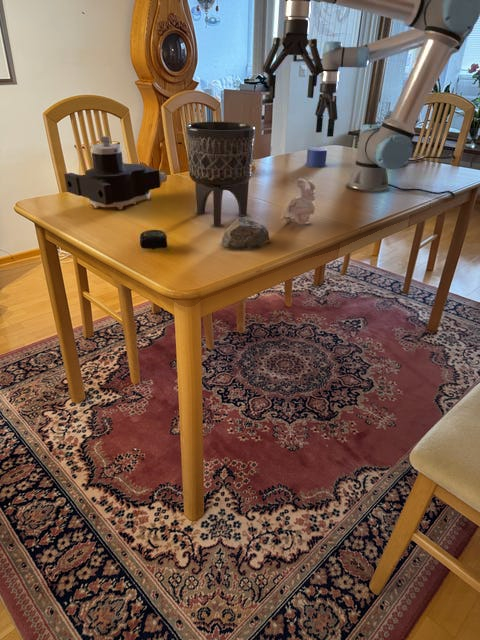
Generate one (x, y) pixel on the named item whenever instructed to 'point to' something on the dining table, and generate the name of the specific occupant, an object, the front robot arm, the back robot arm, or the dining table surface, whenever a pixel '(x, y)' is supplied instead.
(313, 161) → the blue cylinder
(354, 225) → the dining table surface
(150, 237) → the tape measure
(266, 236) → the rock
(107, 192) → the mechanical component
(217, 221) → the planter
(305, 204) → the figurine
